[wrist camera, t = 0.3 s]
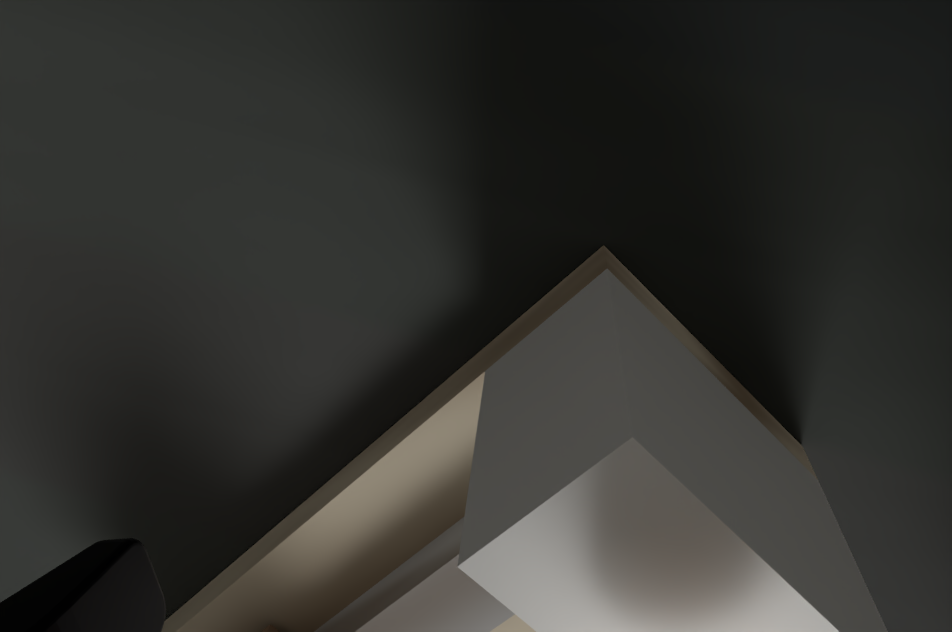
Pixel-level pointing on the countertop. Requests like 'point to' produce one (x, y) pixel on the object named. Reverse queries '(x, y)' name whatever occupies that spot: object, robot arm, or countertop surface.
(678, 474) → the cabinet
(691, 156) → the countertop surface
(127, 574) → the robot arm
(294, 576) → the rail track
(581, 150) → the countertop surface
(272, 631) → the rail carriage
